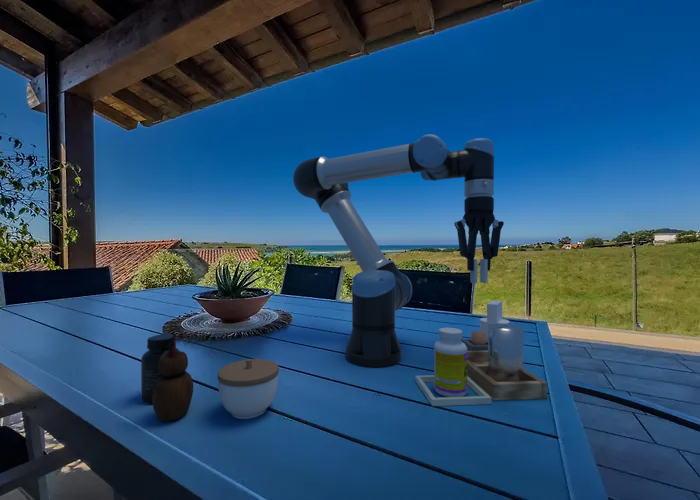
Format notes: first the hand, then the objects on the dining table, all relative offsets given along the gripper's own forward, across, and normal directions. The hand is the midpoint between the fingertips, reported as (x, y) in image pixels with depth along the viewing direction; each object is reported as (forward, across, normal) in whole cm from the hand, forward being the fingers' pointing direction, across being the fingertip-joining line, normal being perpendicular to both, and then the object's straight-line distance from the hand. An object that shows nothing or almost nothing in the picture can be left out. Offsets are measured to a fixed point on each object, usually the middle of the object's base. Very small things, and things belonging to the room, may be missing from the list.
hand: (478, 282), depth 89 cm
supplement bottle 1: (+21, -75, -18) cm, 80 cm away
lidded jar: (+21, -56, -26) cm, 65 cm away
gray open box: (+20, 0, 0) cm, 20 cm away
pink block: (+19, 0, 0) cm, 19 cm away
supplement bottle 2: (+21, -16, -20) cm, 33 cm away
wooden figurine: (+21, -69, -26) cm, 77 cm away
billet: (+20, -4, -19) cm, 28 cm away
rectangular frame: (+20, -16, -20) cm, 33 cm away
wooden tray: (+20, -4, -14) cm, 25 cm away
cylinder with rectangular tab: (+21, +14, +18) cm, 31 cm away
